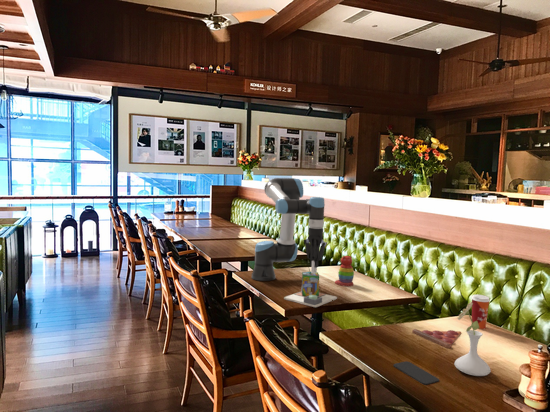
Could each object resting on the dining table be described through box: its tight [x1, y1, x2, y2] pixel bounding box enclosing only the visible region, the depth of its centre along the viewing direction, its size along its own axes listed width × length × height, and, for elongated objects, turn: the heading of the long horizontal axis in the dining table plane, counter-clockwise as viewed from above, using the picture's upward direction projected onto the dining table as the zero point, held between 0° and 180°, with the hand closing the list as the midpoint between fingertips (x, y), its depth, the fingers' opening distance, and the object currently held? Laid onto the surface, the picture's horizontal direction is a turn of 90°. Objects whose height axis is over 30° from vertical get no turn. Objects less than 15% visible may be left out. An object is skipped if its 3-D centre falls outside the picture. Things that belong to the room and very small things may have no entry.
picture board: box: [283, 290, 338, 308], centre depth 224 cm, size 20×21×4 cm
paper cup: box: [470, 294, 491, 330], centre depth 189 cm, size 8×8×14 cm
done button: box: [309, 295, 317, 300], centre depth 215 cm, size 4×4×2 cm
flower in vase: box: [454, 301, 492, 377], centre depth 144 cm, size 13×11×25 cm
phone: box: [393, 360, 440, 386], centre depth 142 cm, size 7×1×15 cm
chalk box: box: [301, 268, 320, 296], centre depth 229 cm, size 9×9×15 cm
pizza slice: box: [412, 328, 462, 349], centre depth 177 cm, size 18×2×20 cm
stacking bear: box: [334, 255, 355, 287], centre depth 257 cm, size 11×10×18 cm
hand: (313, 273), depth 214 cm, fingers closed
